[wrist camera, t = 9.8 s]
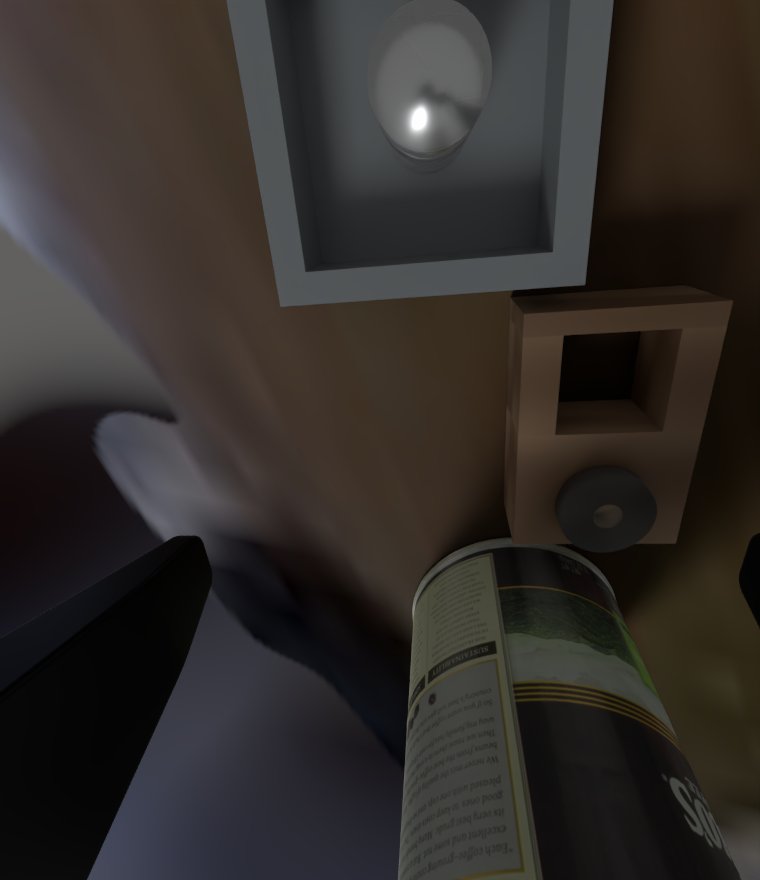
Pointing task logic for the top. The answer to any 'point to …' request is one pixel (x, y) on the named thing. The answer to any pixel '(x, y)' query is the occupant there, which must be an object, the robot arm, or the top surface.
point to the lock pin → (429, 81)
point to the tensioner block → (608, 417)
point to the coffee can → (541, 732)
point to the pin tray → (416, 195)
